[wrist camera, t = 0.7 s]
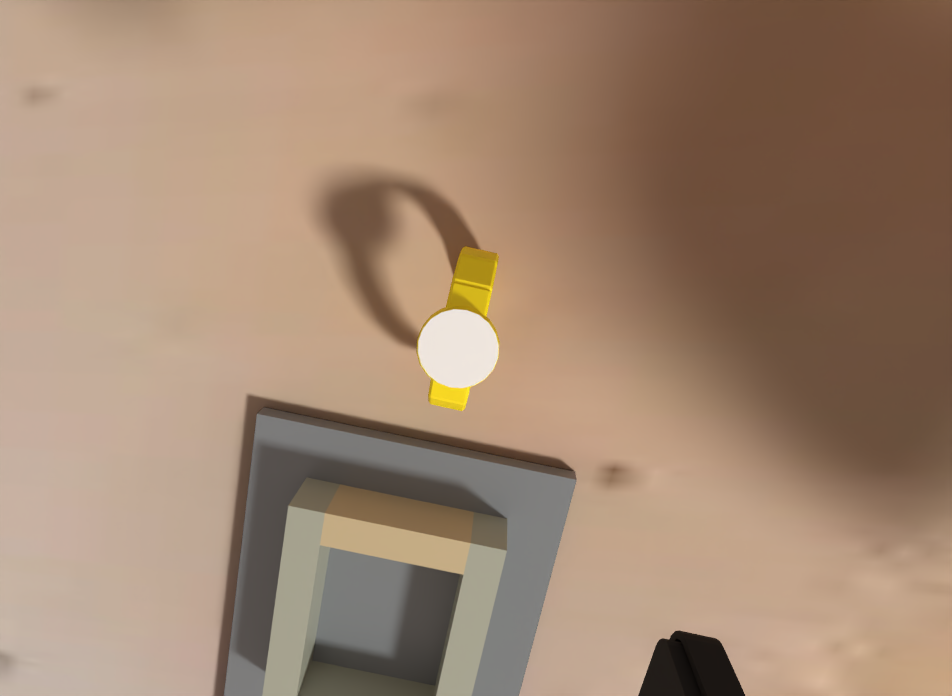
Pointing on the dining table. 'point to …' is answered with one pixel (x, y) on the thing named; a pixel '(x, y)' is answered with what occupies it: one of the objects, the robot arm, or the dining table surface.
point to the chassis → (388, 564)
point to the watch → (461, 333)
